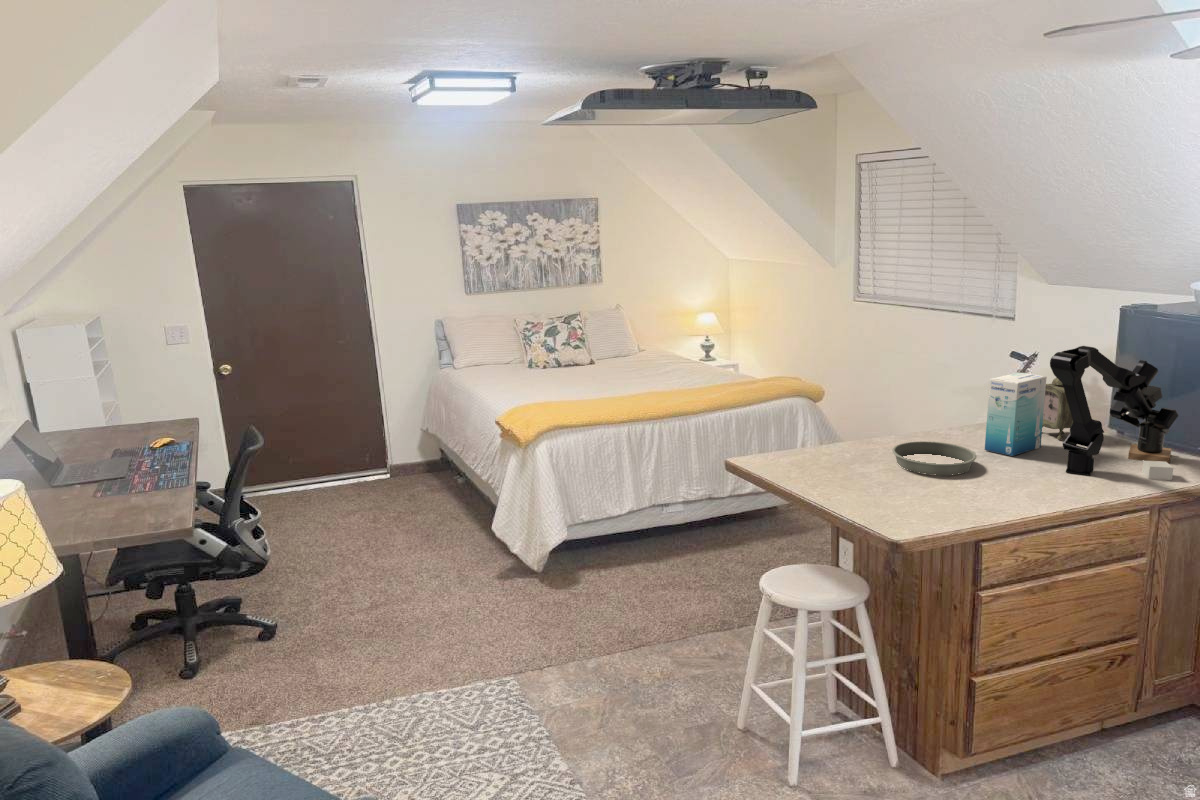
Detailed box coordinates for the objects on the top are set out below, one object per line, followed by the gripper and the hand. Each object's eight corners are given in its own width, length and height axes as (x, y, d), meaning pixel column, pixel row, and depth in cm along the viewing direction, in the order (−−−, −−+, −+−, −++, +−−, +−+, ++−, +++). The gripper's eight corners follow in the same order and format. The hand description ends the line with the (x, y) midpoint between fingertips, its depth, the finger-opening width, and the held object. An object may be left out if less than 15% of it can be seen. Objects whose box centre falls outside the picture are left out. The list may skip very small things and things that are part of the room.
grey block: (1148, 479, 261) (1150, 466, 260) (1141, 473, 266) (1143, 460, 265) (1171, 480, 259) (1173, 467, 258) (1164, 474, 265) (1166, 461, 264)
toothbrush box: (1012, 441, 302) (1018, 370, 296) (1042, 447, 294) (1048, 375, 288) (982, 450, 292) (988, 378, 286) (1012, 457, 284) (1019, 383, 278)
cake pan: (891, 475, 270) (892, 460, 269) (890, 452, 293) (891, 439, 292) (979, 480, 263) (980, 466, 262) (971, 457, 286) (972, 443, 285)
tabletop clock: (1030, 431, 313) (1037, 361, 307) (1053, 429, 315) (1060, 359, 309) (1058, 442, 299) (1065, 369, 293) (1082, 440, 301) (1090, 367, 295)
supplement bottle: (1133, 451, 281) (1138, 414, 278) (1141, 446, 285) (1145, 410, 283) (1158, 455, 276) (1163, 417, 273) (1165, 450, 281) (1170, 413, 278)
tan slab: (1128, 458, 280) (1128, 452, 279) (1130, 450, 289) (1131, 444, 288) (1169, 463, 274) (1170, 457, 273) (1170, 454, 283) (1171, 448, 282)
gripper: (1178, 384, 265) (1197, 416, 272) (1119, 373, 282) (1138, 403, 289) (1157, 413, 264) (1177, 444, 271) (1100, 400, 280) (1119, 430, 287)
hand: (1153, 429), depth 279 cm, fingers open, 9 cm apart
